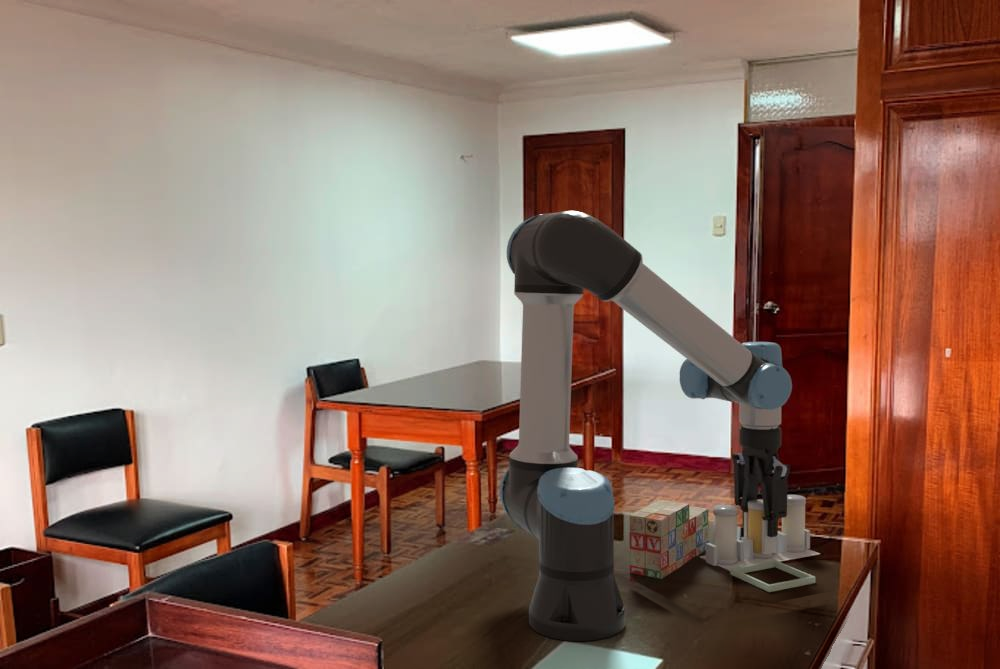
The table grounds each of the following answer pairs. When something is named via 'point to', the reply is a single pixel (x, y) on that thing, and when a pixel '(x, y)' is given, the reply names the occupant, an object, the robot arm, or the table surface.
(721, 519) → the ball
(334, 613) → the table surface
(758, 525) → the fuse amber
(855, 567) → the table surface
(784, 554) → the fuse panel
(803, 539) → the fuse cream far
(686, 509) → the stack of blocks
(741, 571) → the tray
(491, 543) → the table surface
